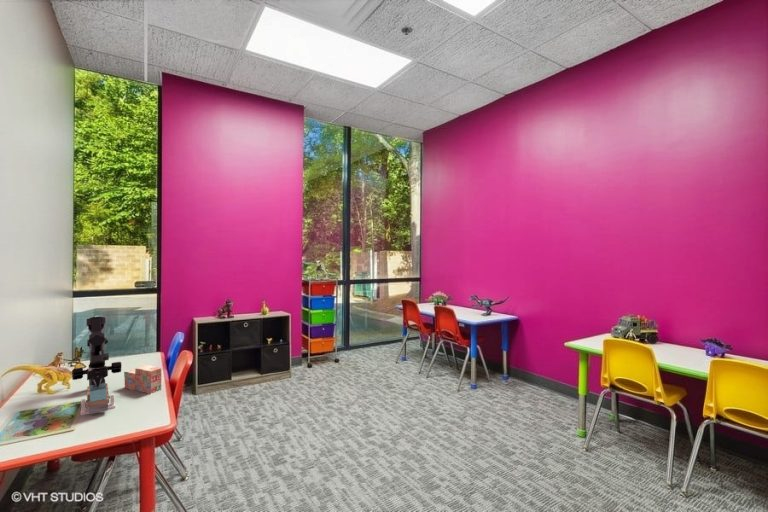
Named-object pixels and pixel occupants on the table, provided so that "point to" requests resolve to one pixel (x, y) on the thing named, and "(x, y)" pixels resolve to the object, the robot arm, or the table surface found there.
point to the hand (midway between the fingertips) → (97, 385)
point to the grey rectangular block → (98, 392)
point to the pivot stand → (86, 411)
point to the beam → (97, 403)
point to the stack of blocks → (143, 379)
